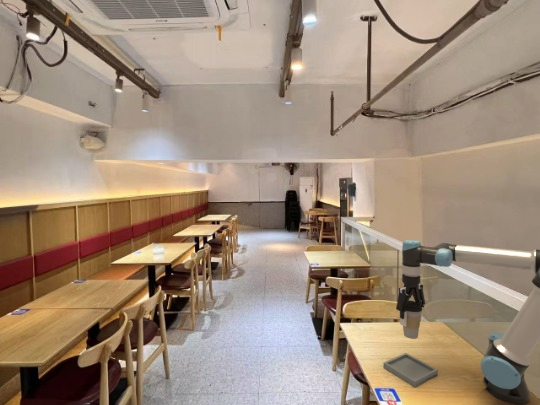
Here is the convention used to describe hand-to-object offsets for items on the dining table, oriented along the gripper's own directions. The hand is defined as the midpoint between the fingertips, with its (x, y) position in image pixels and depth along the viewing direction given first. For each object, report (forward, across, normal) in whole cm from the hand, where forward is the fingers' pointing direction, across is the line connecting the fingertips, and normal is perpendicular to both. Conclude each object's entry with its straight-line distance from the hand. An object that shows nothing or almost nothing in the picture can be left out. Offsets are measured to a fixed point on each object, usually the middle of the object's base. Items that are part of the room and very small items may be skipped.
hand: (410, 322), depth 136 cm
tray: (+22, +2, +1) cm, 22 cm away
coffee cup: (+6, 0, 0) cm, 6 cm away
